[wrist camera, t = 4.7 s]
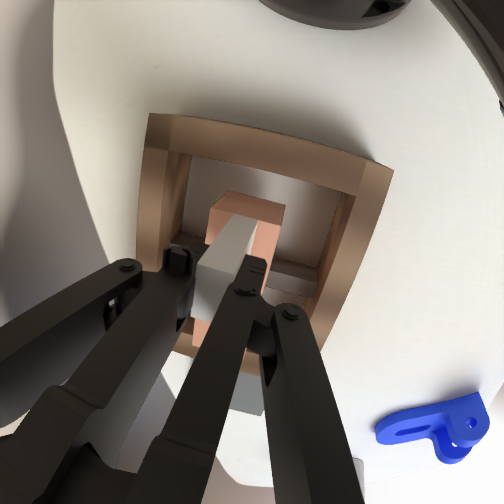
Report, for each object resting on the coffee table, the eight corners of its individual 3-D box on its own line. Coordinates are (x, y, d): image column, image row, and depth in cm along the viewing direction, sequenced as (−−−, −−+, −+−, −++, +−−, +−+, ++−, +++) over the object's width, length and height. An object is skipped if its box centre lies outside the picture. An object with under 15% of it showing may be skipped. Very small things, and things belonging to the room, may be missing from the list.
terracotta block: (228, 190, 21) (210, 207, 17) (285, 205, 21) (281, 226, 17) (207, 313, 27) (192, 344, 23) (252, 325, 26) (243, 360, 22)
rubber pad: (199, 346, 32) (197, 352, 31) (281, 368, 32) (280, 374, 31) (193, 392, 37) (191, 397, 36) (261, 410, 36) (260, 416, 35)
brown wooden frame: (177, 114, 22) (149, 113, 17) (375, 161, 21) (394, 170, 16) (157, 310, 31) (137, 337, 26) (303, 351, 30) (301, 385, 26)
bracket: (478, 391, 30) (494, 433, 22) (461, 418, 33) (472, 457, 25) (380, 412, 34) (386, 463, 26) (370, 437, 37) (374, 482, 29)
